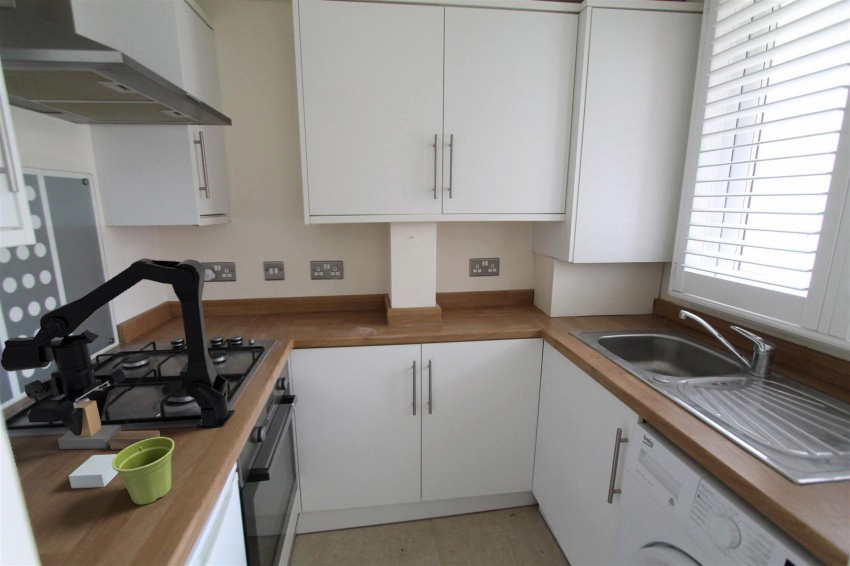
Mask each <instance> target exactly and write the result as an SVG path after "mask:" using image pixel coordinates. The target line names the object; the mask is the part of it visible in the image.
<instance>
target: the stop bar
mask: <svg viewBox="0 0 850 566" xmlns="http://www.w3.org/2000/svg"><path fill="white" fill-rule="evenodd" d="M155 437H161V433H160V430H122V431H119V432H117V433H116V434H115V435H114V436H112V437H111V438H110V439H109V443H110V445H109V446H110V450H124V449H125V448H127V447H129V446H130V445H132V444H135V443H137V442H140V441H142V440H146V439H150V438H155Z"/></svg>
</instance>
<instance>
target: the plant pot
mask: <svg viewBox="0 0 850 566" xmlns="http://www.w3.org/2000/svg"><path fill="white" fill-rule="evenodd" d="M174 448H175V441H174V440H173V439H172V438H170V437H165V436H160V437H155V438H150V439H146V440H142V441H140V442H137V443H135V444H132V445H130V446H129V447H127V448H125V449H121V450H120V451H119V452H118V453H117V455H116V456H115V458H114V459H113V461H112V467H113V469H114V470H116V471H117V472H118V475H120V476H121V479H122V481H123V482H124V484H125V487H126V489H127V492H128V494H129V495H130V499H131V501H132V502H133V503H134V504H136V505H146V504H150V503H153V502H155V501H157V500H158V499H159V498H162V497H165V496H166V495H167V494H168V493H169V492H170V490H171V488H172V455H173V451H174Z"/></svg>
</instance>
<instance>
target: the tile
mask: <svg viewBox="0 0 850 566" xmlns="http://www.w3.org/2000/svg"><path fill="white" fill-rule="evenodd" d="M117 454H118V453H117ZM117 454H116V453H115V454H112V453H111V454H93V455H91V456H90V457H89V458H88V459H86V460H85V461H84V462H83V463H81V465H80V466H78V467H77V468H76V469H75V470H73V472H72V473H70V474H69V475H68V480H69V482H70V487H71V489H86V488H88V489H89V488H104V487H106V486H107V485H108V484H109V483H110V482H111V481H112V480H113V479H114V478H115V477H116V476H117V475H119V473H118V472H117V471H116V470H114V469H113V467H112V461H113V459H114V458H115V456H116V455H117Z"/></svg>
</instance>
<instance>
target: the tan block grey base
mask: <svg viewBox="0 0 850 566" xmlns="http://www.w3.org/2000/svg"><path fill="white" fill-rule="evenodd" d="M76 406H77V408H83V426H82V433H81V435H80V436H75V435H74V434H73V433H72V432H71V431H70V430H69V431H67V432H66V433H65V434H63V435H62V436H60V437H59V438H57V443H58V447H59V449H60V450H70V449H71V450H74V449H75V450H80V449H81V450H82V449H107V448H108V447H109V446H110V443H109V439H110V438H111V437H112V436H114V435H115V434H116V433H117V432H119V431H123V429H122V426H121V425H117V424H116V425H102V422H101V421H100V417H99V413H98V408H97V404H96V401H89V400H81V401H80V402H78V403H76Z"/></svg>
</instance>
